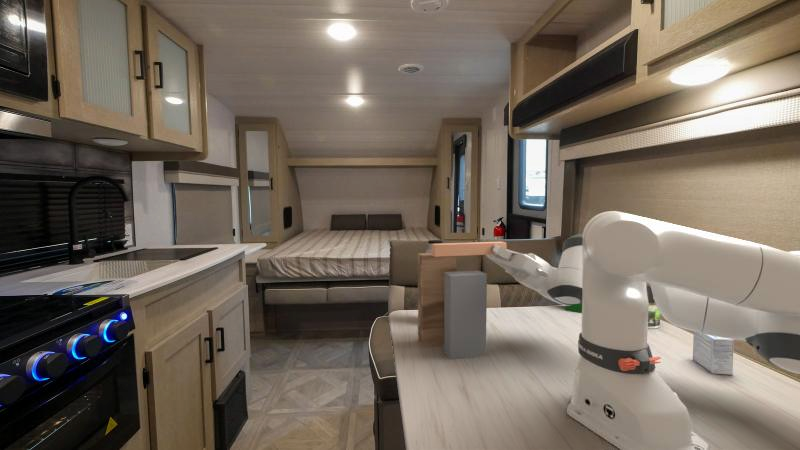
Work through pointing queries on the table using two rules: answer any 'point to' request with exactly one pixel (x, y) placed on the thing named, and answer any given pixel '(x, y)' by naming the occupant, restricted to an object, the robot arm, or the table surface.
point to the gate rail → (465, 248)
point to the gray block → (465, 314)
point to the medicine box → (713, 353)
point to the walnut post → (432, 297)
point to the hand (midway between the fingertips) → (489, 246)
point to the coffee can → (652, 310)
